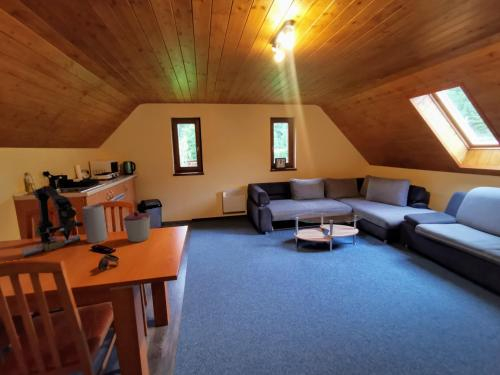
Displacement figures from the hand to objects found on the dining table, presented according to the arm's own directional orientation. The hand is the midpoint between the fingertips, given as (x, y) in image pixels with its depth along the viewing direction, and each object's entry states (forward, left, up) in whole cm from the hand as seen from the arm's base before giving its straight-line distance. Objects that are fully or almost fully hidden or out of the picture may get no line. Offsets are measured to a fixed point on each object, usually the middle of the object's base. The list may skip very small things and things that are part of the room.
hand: (67, 239), depth 168 cm
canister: (+28, +34, -6) cm, 44 cm away
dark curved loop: (+54, -1, -7) cm, 55 cm away
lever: (-5, -5, 0) cm, 7 cm away
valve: (-10, -5, -6) cm, 13 cm away
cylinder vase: (+1, +18, -6) cm, 19 cm away
